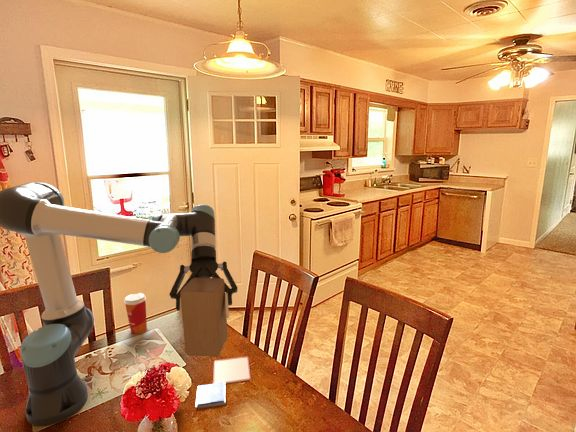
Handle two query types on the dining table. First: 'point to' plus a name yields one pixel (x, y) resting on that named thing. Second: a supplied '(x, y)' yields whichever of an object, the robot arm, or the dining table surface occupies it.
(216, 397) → the ink pad
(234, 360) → the print card
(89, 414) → the dining table surface
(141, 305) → the coffee cup
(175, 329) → the dining table surface
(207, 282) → the block
